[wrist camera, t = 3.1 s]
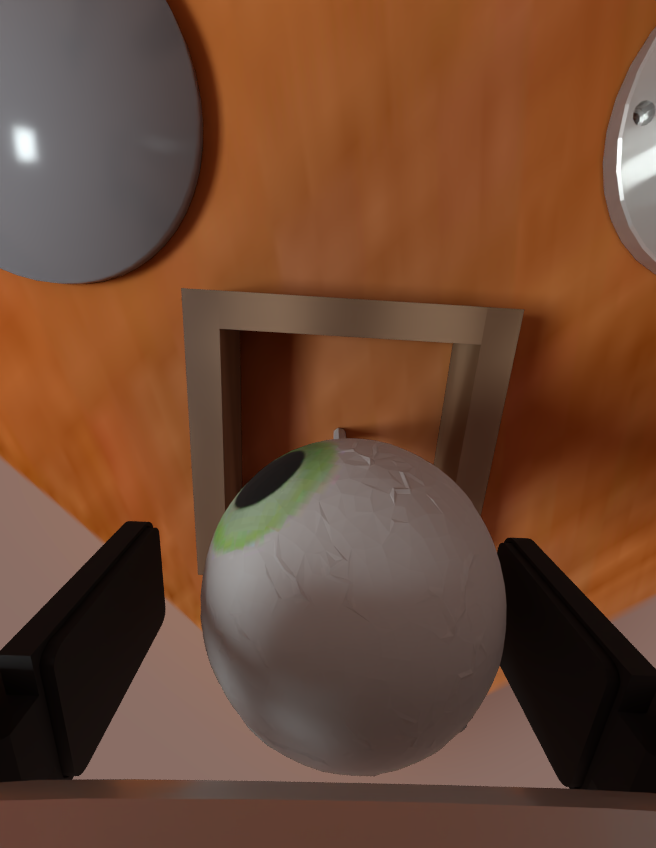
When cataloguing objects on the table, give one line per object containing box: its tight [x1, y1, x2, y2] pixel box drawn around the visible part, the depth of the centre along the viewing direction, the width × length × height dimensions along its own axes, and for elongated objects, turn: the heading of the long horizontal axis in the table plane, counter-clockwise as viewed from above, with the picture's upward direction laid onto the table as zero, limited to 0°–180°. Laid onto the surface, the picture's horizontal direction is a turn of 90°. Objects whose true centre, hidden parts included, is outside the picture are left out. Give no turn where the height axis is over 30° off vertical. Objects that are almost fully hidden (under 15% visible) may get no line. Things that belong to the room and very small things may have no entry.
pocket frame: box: [181, 288, 524, 575], centre depth 18 cm, size 14×14×4 cm
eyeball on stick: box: [201, 428, 507, 776], centre depth 13 cm, size 7×7×15 cm
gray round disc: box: [0, 0, 203, 284], centre depth 15 cm, size 14×14×1 cm
